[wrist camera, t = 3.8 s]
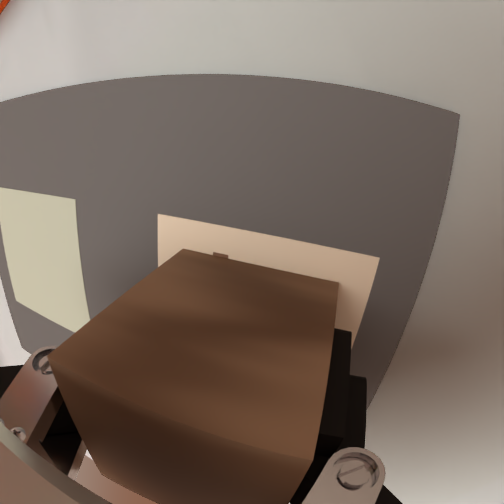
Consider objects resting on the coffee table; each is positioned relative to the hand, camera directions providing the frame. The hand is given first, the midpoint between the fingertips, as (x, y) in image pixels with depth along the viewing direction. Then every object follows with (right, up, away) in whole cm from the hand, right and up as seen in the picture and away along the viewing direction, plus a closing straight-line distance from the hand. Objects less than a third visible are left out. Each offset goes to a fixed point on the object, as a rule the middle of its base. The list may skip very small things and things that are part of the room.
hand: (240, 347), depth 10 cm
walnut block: (0, 0, +1) cm, 1 cm away
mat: (-5, +1, +2) cm, 6 cm away
